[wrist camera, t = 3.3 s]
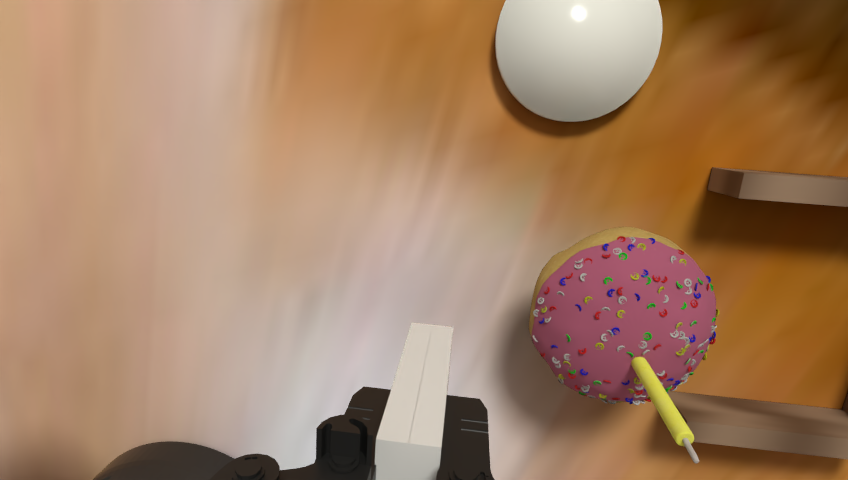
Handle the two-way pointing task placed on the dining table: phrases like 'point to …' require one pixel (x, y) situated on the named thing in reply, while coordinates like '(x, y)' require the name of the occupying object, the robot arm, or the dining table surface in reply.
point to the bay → (760, 419)
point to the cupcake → (625, 320)
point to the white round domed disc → (576, 54)
